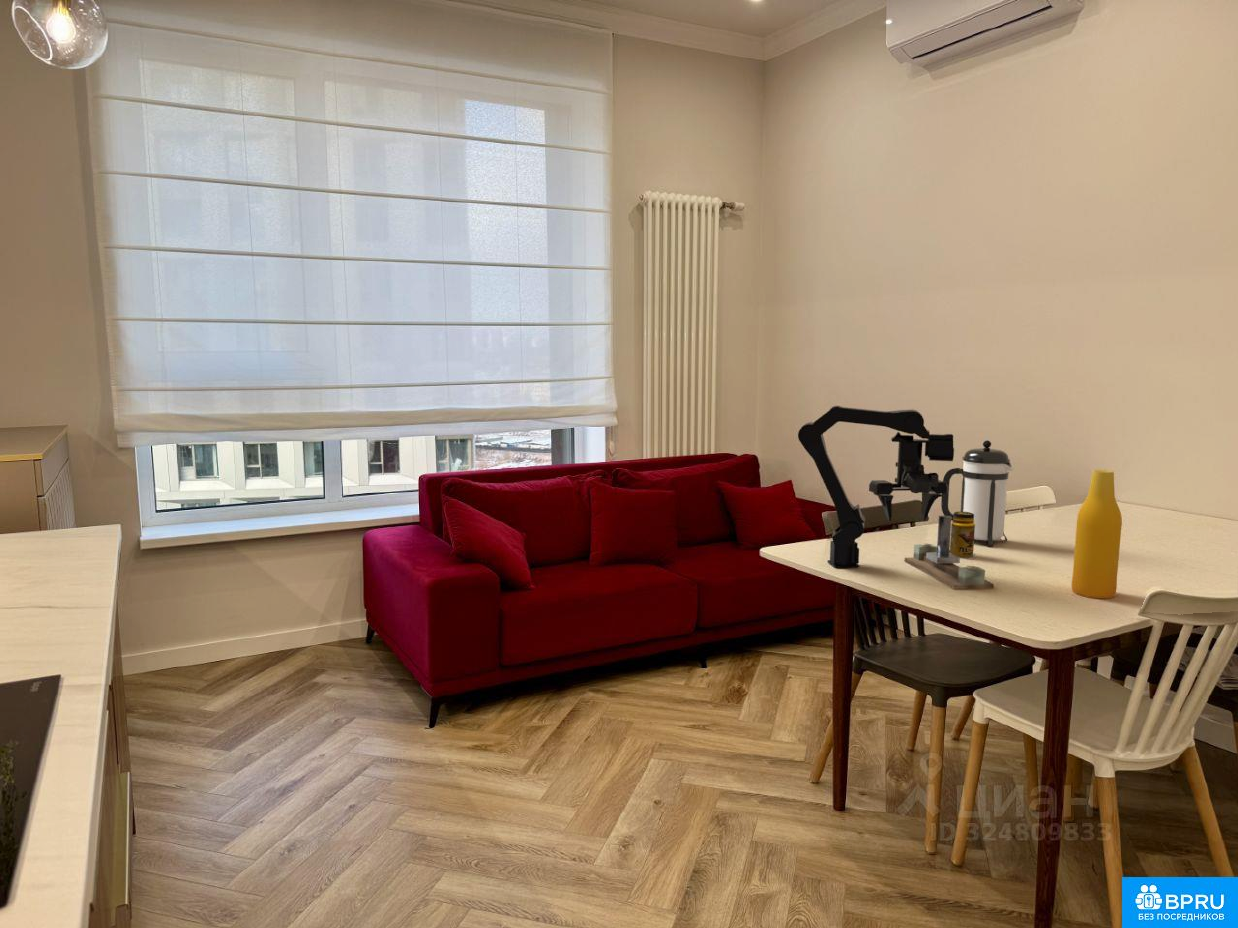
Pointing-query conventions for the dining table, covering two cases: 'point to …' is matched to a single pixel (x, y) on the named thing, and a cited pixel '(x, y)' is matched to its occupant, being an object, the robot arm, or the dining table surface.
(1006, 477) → the coffee press
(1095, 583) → the beer bottle
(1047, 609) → the dining table surface
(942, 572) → the board
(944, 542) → the carriage
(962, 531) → the condiment
